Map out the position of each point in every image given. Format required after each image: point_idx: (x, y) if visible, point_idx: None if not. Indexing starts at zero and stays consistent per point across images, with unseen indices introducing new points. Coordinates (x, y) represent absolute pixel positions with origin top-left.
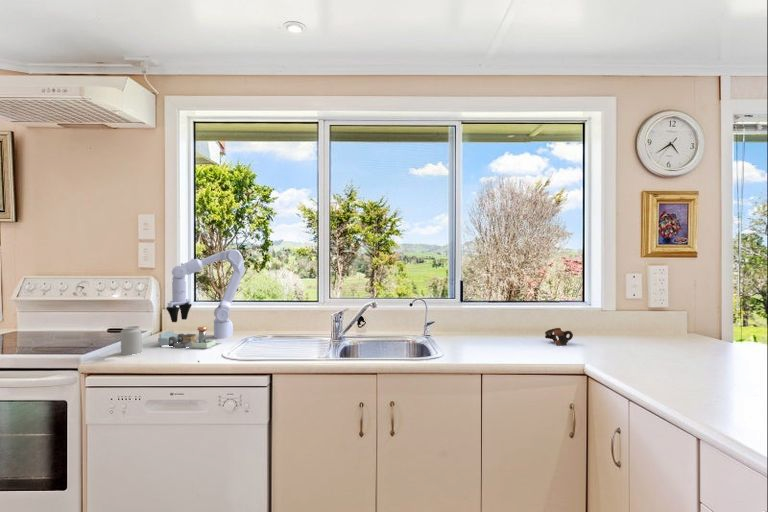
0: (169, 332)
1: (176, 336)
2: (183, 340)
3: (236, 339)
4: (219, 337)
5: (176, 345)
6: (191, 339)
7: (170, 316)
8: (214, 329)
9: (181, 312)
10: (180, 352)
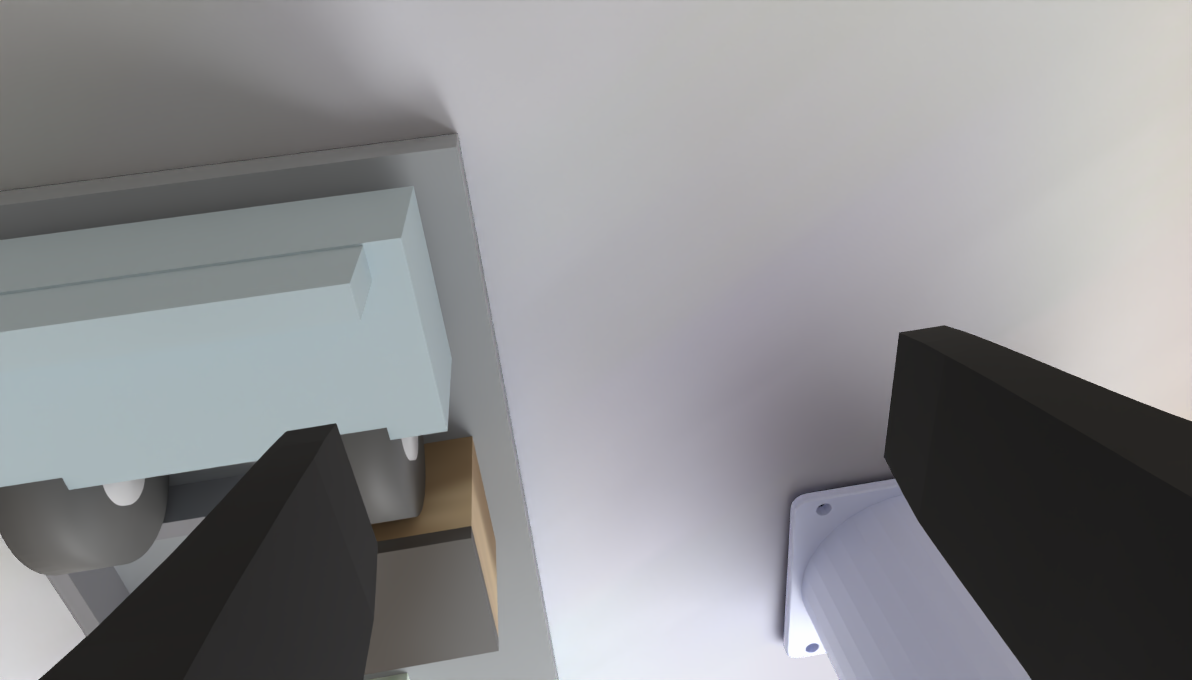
0: (182, 338)
1: (258, 449)
2: None
3: None
4: (814, 625)
5: (65, 577)
6: None
7: (143, 592)
8: (893, 656)
9: (1112, 480)
10: (66, 614)
